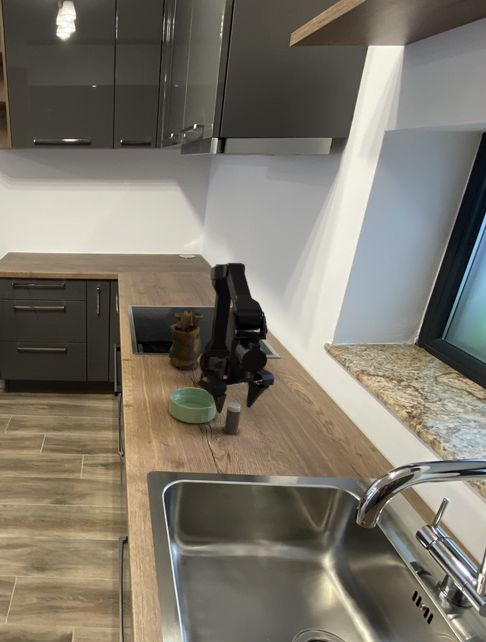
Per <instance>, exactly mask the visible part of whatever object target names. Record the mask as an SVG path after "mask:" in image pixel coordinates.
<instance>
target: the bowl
mask: <svg viewBox="0 0 486 642" xmlns="http://www.w3.org/2000/svg"><path fill="white" fill-rule="evenodd" d="M168 412H169V414H170V415H171V416H172V417H173V418H175V419H176V420H178V421H181V422H184V423H188V424H202V423H208V422H210V421H212V420H214V418H215V417H216V412H217V410H216V406H215V402H214V399H213V396H212V395H211V394H209V393H208V392H207V391H206V390H204V389H203V388H200V387H193V386H190V387H187V386H185V387H180V388H176V389H174V390H172V391H171V392H170V394H169V400H168Z"/></svg>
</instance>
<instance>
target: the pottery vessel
mask: <svg viewBox="0 0 486 642" xmlns="http://www.w3.org/2000/svg"><path fill="white" fill-rule="evenodd" d="M174 317H175V318H176V320H177V322H176V323H174V324H171V325H170V326H169V328H170V329H171V336H172V345H171V347H170V348H169V351H168V352H169V353H168V358H169V359H170V360H169V363H171V364H172V365H174V367H175V368H176V367H178V368H179V369H180V371H182V370H183V371H191V370H195V369H196V368H197V366H198V361H197V360H198V359H200V357H201V354H202V341H201V338H200V331H201V323H202V319H203V317H204V314H202V313H200V312H195V313H194V311H190V313H189V312H188V311H187V310H185V311H183V312H176V313H175V314H174Z"/></svg>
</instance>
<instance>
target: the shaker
mask: <svg viewBox="0 0 486 642" xmlns="http://www.w3.org/2000/svg"><path fill="white" fill-rule="evenodd" d="M241 413H242V404H241V403H239V402H236V401H230V402H228V403H227V406H226V412H225V420H224V428H223V431H224V432H225V433H226V434H228V435H231V436H233V435H237V434H238V433H239V429H240V428H239V427H240V420H241Z"/></svg>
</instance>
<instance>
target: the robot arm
mask: <svg viewBox="0 0 486 642" xmlns="http://www.w3.org/2000/svg"><path fill="white" fill-rule="evenodd" d="M209 277H210V281H211V286H212V288H213V290H214V292H215V299H214V308H213V317H212V324H211V325H212V327H211V334H210V336H211V337H210V339H209V341H208V342H207V343H206V344H205V345H204V350H203V352H201V354H200V356H199V361H198V366H199V368H200V371H201V373H200V377H199V381H198V382H197V383H198V384H199V385H200V387H201V389H204V390H206V391H207V392H208V393H209V394H211V395H212V396H213V399H214V402H215V406H216V412H217V414H221V413H222V412H223V409H224V405H225V402H226V399H227V394H226V392H227V390H228V387H232V386H237V385H243V384H247V385H248V388H247V394H246V395H247V396H246V407H247V408H248V409H249V408H252V406H253V405H254V404H255V402H256V401H257V400H258V398H260V396H261V395H263V394H264V392H265V391H266V390H268V389H269V388H270V386H274V383H275V375H274V374H273V373H272V372H270V371H269V370H267V369H265V367H266V366H267V363H268V357H267V354H266V353H265V351H264V350H263V349H262V344H261V343H260V341H266V340H267V335H268V333H269V331H268V325H267V324H268V323H267V317H266V314H265V312H264V311H263V309H262V306H261V304H260V302H259V301H258V300H256V299H254V298H253V296H252V294H251V290H250V286H249V282H248V279H247V275H246V266H245V264H244V263H243V262H227V263H216V264H215V265H214V266H213V267H212V268H211V269H210V274H209ZM231 305H232V307H231ZM228 329H229V330H230V337H231V341H230V348H229V346H228V344H227V339H228V337H227V336H228ZM225 376H226V378H224V377H225Z"/></svg>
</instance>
